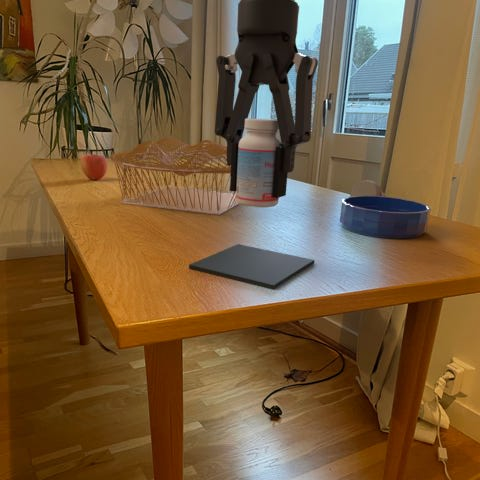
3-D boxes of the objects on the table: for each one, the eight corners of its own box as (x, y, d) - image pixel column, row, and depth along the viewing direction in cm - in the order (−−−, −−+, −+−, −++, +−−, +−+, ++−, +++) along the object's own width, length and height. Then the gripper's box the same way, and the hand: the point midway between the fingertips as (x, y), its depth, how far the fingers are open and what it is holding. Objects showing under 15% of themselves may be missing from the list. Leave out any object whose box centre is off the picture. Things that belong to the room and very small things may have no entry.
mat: (314, 263, 75) (314, 259, 74) (273, 289, 64) (273, 285, 63) (237, 247, 81) (238, 243, 81) (188, 268, 70) (188, 264, 70)
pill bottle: (271, 210, 65) (277, 121, 60) (229, 205, 67) (232, 118, 62) (283, 202, 70) (290, 120, 65) (244, 198, 72) (248, 117, 67)
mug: (393, 210, 117) (397, 176, 109) (366, 231, 114) (368, 197, 106) (369, 197, 121) (372, 163, 113) (343, 217, 118) (343, 184, 110)
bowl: (432, 227, 101) (437, 203, 99) (414, 244, 87) (420, 217, 85) (354, 214, 109) (357, 192, 107) (327, 229, 95) (330, 204, 93)
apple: (76, 178, 137) (74, 149, 134) (98, 176, 142) (96, 148, 139) (91, 182, 133) (89, 152, 129) (113, 180, 138) (111, 150, 134)
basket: (251, 226, 95) (254, 153, 89) (80, 204, 106) (73, 138, 100) (291, 196, 126) (296, 141, 120) (156, 182, 137) (155, 131, 131)
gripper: (187, -2, 59) (187, 187, 69) (332, -12, 51) (309, 206, 60) (220, 8, 65) (216, 182, 75) (354, 2, 57) (330, 198, 66)
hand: (257, 192), depth 68 cm, fingers closed on pill bottle, 6 cm apart
